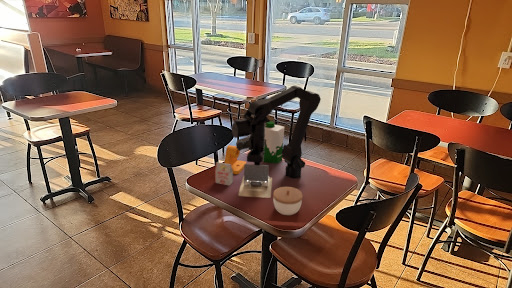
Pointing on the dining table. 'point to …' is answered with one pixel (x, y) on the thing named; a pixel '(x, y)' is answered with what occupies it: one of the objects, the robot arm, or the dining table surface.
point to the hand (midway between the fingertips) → (256, 167)
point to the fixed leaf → (264, 184)
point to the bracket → (234, 159)
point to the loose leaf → (256, 174)
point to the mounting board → (255, 190)
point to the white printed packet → (223, 173)
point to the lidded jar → (287, 200)
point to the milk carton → (273, 143)
